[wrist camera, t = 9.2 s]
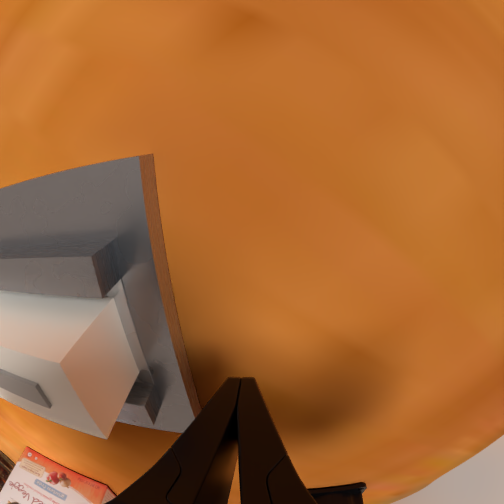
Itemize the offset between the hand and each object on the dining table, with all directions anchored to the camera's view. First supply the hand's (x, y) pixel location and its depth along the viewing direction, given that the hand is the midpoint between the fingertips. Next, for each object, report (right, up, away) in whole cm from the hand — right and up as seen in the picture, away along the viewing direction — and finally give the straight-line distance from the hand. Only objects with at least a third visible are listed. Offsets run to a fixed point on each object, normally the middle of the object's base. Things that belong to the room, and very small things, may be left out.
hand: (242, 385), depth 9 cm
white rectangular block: (-11, 0, +3) cm, 11 cm away
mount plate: (-13, +1, +4) cm, 14 cm away
